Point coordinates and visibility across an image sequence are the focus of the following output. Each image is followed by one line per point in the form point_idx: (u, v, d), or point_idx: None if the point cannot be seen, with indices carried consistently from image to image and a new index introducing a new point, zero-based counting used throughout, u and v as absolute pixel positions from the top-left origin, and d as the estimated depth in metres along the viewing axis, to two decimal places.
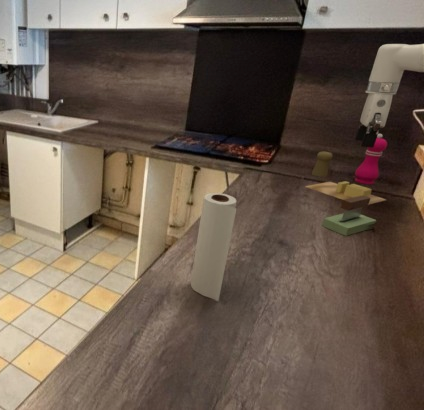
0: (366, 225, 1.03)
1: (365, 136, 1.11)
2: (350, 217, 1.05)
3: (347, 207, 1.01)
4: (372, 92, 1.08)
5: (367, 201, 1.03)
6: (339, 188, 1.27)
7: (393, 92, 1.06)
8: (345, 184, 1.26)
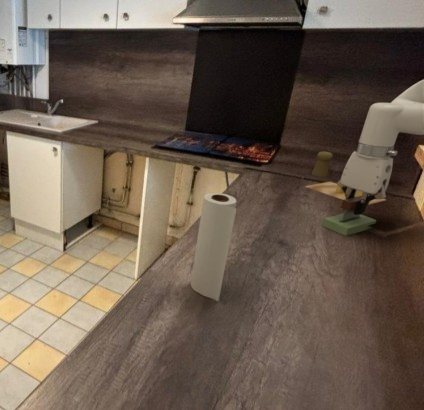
0: (366, 225, 1.03)
1: (359, 204, 1.01)
2: (350, 217, 1.04)
3: (347, 207, 1.01)
4: (377, 157, 0.94)
5: None
6: (339, 188, 1.27)
7: None
8: None
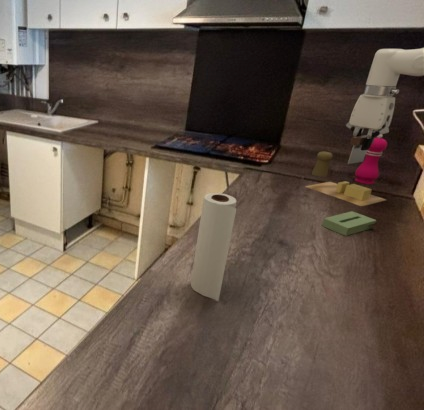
0: (366, 225, 1.03)
1: (366, 140, 1.16)
2: (358, 154, 1.20)
3: (355, 143, 1.16)
4: (382, 96, 1.09)
5: None
6: (339, 188, 1.27)
7: None
8: (345, 184, 1.26)
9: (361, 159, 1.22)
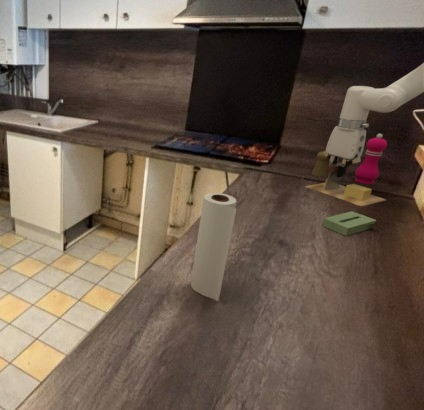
0: (366, 225, 1.03)
1: (340, 168, 1.26)
2: (334, 180, 1.30)
3: (331, 170, 1.26)
4: (353, 129, 1.19)
5: (347, 166, 1.28)
6: None
7: None
8: None
9: (337, 184, 1.32)
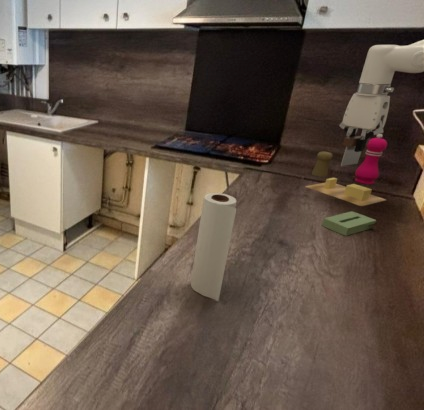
0: (366, 225, 1.03)
1: (360, 141, 1.11)
2: (351, 155, 1.14)
3: (348, 144, 1.11)
4: (375, 95, 1.04)
5: (367, 140, 1.13)
6: (327, 184, 1.30)
7: None
8: (333, 180, 1.30)
9: (355, 161, 1.16)
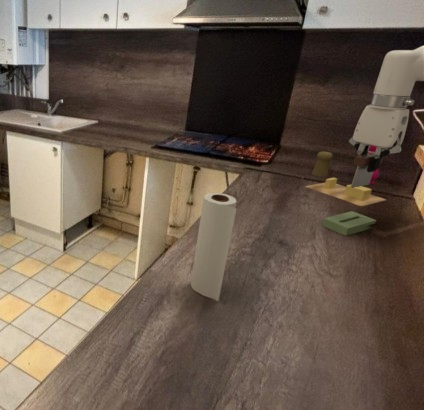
0: (366, 225, 1.03)
1: (373, 161, 0.97)
2: (363, 176, 1.00)
3: (360, 163, 0.97)
4: (393, 108, 0.90)
5: None
6: (327, 184, 1.30)
7: None
8: (333, 180, 1.30)
9: (367, 182, 1.02)
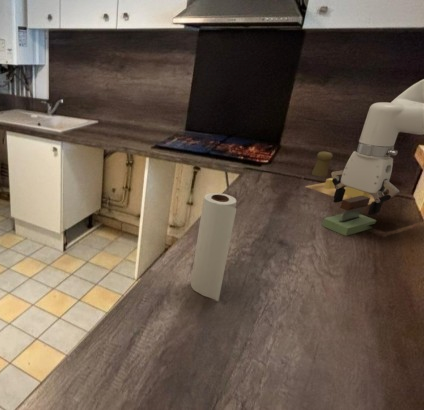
0: (366, 225, 1.03)
1: (374, 204, 0.97)
2: (350, 217, 1.04)
3: (347, 207, 1.01)
4: (377, 157, 0.94)
5: (367, 201, 1.03)
6: (327, 184, 1.30)
7: None
8: None
9: None
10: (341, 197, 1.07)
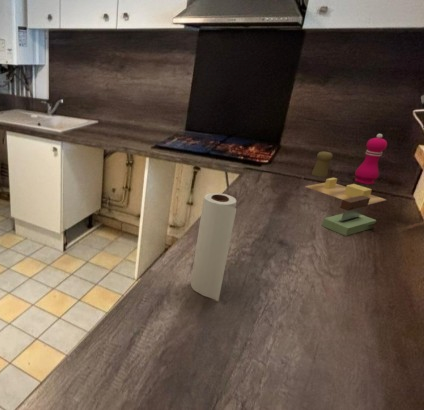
0: (366, 225, 1.03)
1: None
2: (350, 217, 1.04)
3: (347, 207, 1.01)
4: None
5: (367, 201, 1.03)
6: (327, 184, 1.30)
7: None
8: (333, 180, 1.30)
9: None
10: None
